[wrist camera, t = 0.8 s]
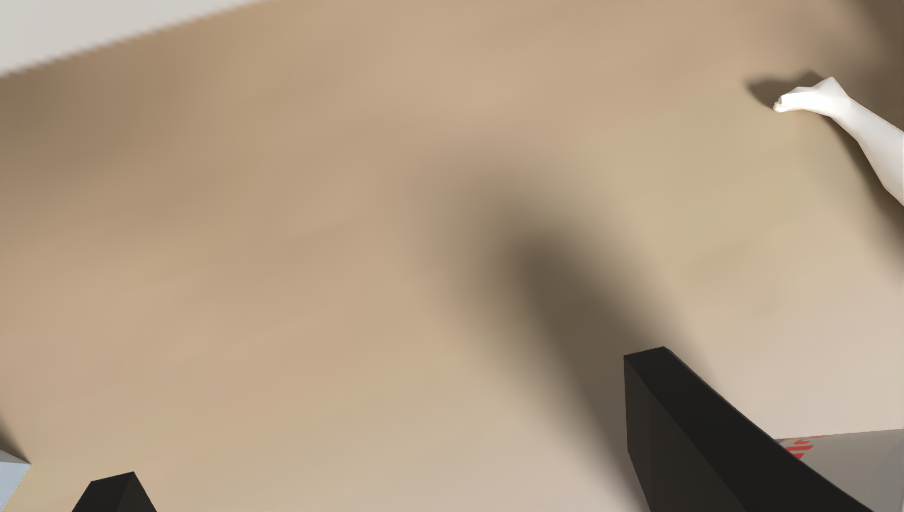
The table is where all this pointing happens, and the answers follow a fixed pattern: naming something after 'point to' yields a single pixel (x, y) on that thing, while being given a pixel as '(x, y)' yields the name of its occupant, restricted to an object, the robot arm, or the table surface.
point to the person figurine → (855, 128)
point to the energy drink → (858, 464)
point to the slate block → (10, 475)
